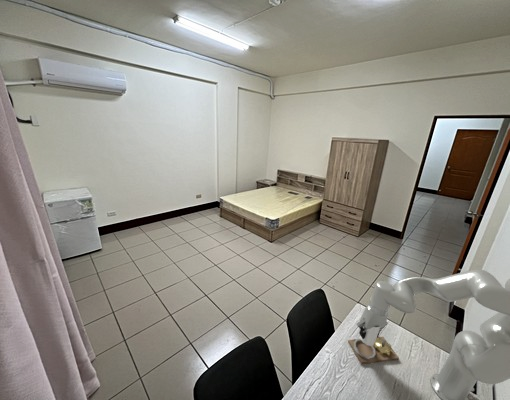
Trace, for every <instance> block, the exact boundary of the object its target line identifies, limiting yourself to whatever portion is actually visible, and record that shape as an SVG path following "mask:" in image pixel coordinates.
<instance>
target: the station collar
mask: <svg viewBox="0 0 510 400" xmlns="http://www.w3.org/2000/svg"><path fill="white" fill-rule="evenodd" d="M357 342H362V341H361V339H360V338H356V340H355V341H354V343H353V344H354V349H355V351H356V353H357V354H358V355H359V356H361V357H362V358H364V359H367V360H371V359H373V358H374V357H375V355H376V353H375V349H374V347H373V346H370V348H371V349H372V351H373V355H372V356H365V355H363V354H362V353H360V352H359V351H358V349H357V347H356V343H357Z"/></svg>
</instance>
